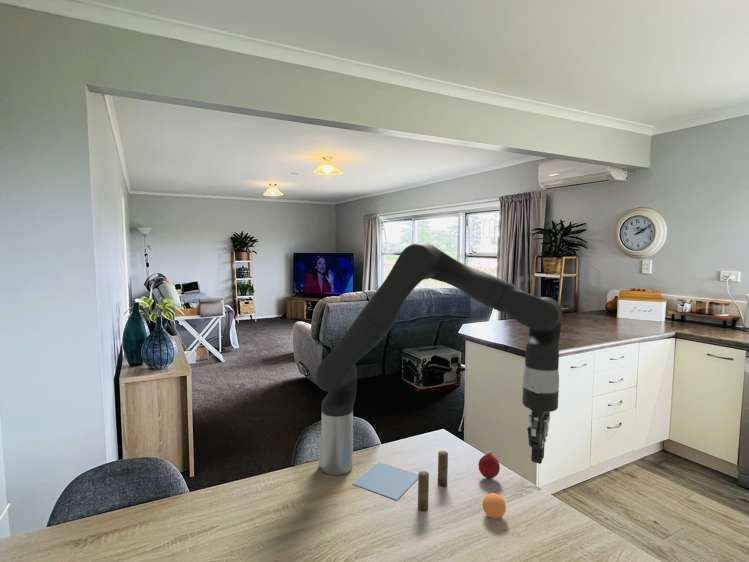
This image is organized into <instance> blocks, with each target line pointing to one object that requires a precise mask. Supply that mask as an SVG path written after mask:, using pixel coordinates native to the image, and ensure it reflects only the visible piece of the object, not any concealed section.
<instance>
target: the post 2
mask: <svg viewBox="0 0 749 562" xmlns="http://www.w3.org/2000/svg"><path fill="white" fill-rule="evenodd" d="M437 455H438V457H437V459H438V460H437V486H438V487H440V488H445V487H448V470H449V469H448V467H449V466H448V465H449V463H448V462H449V461H448V460H449V453H448V452H447V451H446V450H439V451H438V454H437Z"/></svg>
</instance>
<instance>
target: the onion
mask: <svg viewBox="0 0 749 562" xmlns="http://www.w3.org/2000/svg"><path fill="white" fill-rule="evenodd" d="M492 453H493V452H492V451H490V450H489V451H487V454H484V455H482V456H481V458H480V459H479V461H478V471H479V473H480V474H481V475H482V477H484V478H485V479H486V480H491V479H493V478H495V477H497V476H498V474H499V473H500V470H501V469H500V468H501V467H500V463H499V460H498V459H497V457H496V456H494V455H493V454H492Z"/></svg>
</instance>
